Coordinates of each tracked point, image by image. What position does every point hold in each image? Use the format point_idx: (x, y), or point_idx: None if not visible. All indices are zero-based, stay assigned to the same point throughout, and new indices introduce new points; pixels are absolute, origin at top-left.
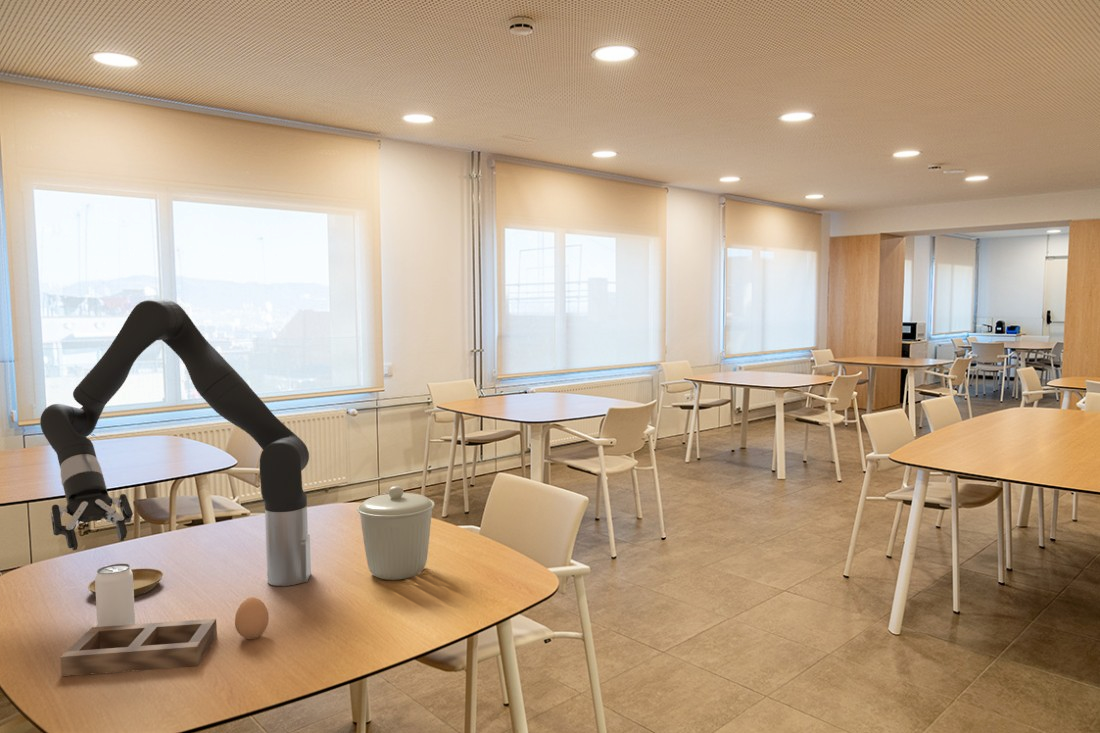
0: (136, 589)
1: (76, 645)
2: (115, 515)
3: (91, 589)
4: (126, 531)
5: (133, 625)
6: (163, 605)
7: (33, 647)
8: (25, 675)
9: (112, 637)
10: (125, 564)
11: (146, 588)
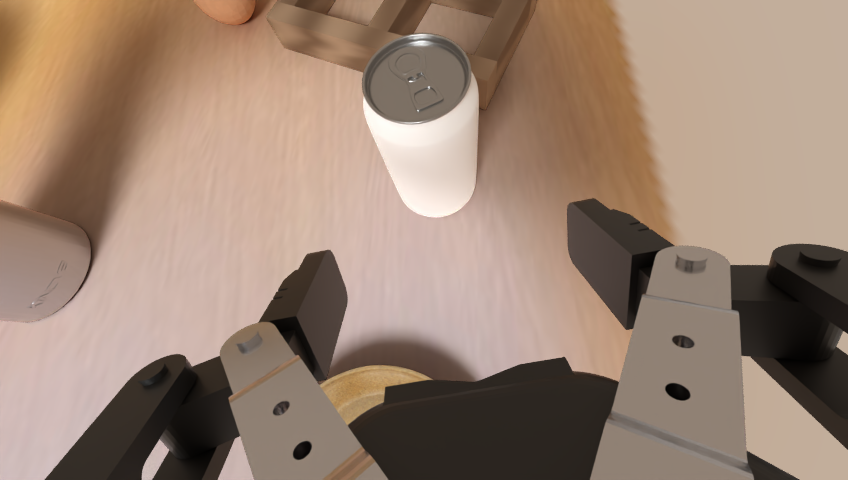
0: (363, 367)
1: (515, 6)
2: (272, 363)
3: None
4: (286, 282)
5: None
6: None
7: (606, 161)
8: (597, 39)
9: None
10: (373, 106)
11: (335, 386)
